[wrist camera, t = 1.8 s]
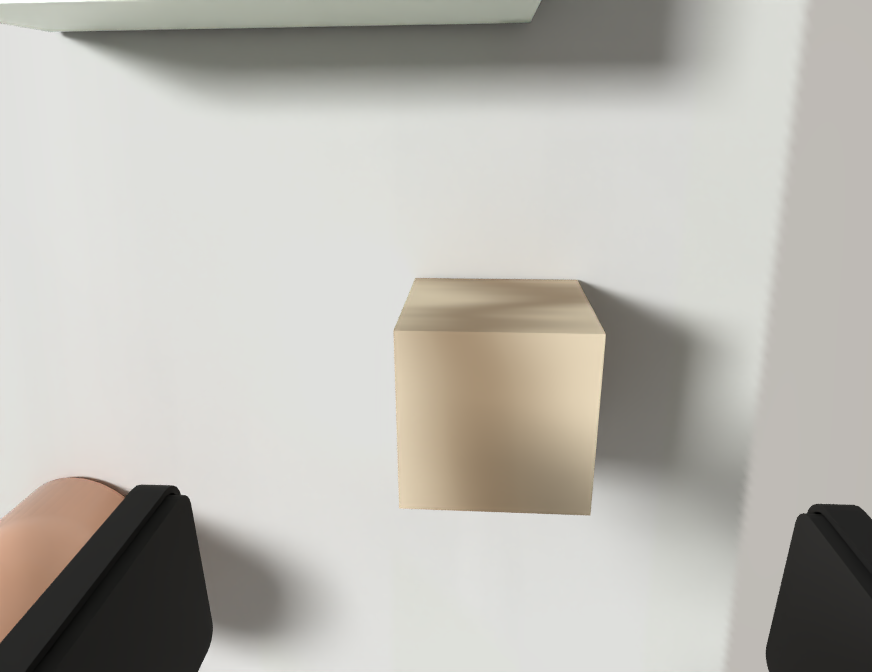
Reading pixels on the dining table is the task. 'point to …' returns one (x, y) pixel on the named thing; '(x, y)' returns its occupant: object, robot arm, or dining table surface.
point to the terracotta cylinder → (46, 539)
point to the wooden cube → (497, 396)
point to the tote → (255, 13)
